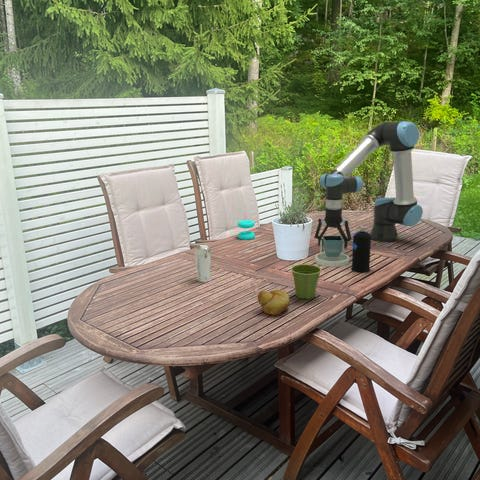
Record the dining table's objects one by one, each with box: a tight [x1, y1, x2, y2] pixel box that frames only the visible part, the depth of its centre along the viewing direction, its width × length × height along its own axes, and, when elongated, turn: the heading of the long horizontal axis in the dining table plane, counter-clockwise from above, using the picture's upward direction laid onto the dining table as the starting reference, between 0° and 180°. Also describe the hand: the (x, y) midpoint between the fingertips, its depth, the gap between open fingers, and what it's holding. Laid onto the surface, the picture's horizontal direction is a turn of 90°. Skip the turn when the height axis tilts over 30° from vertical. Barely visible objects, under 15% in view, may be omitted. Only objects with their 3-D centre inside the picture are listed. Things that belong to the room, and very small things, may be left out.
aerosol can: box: [350, 225, 372, 274], centre depth 197 cm, size 8×8×20 cm
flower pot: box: [322, 235, 344, 257], centre depth 210 cm, size 9×9×9 cm
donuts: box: [237, 219, 256, 241], centre depth 255 cm, size 10×10×10 cm
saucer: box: [314, 251, 351, 268], centre depth 212 cm, size 16×16×2 cm
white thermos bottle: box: [194, 244, 212, 283], centre depth 191 cm, size 7×7×15 cm
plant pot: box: [290, 263, 323, 300], centre depth 171 cm, size 12×12×11 cm
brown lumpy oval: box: [257, 289, 291, 316], centre depth 160 cm, size 13×10×8 cm
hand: (332, 253), depth 211 cm, fingers closed on flower pot, 10 cm apart
